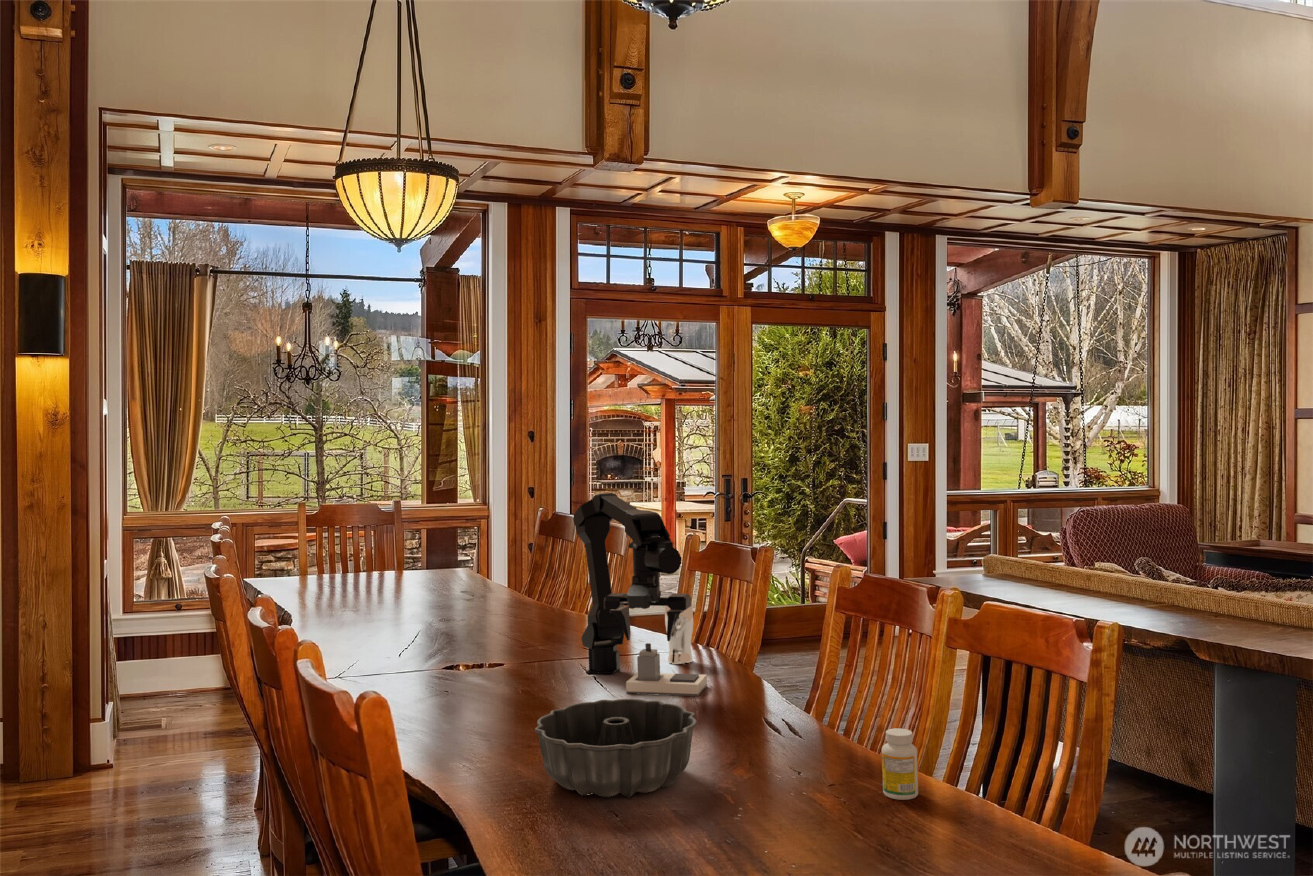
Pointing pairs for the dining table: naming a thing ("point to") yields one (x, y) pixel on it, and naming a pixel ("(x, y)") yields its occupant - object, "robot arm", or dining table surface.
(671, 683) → the beige flat block
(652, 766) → the bundt pan
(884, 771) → the supplement bottle
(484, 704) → the dining table surface
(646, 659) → the plug
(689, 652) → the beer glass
